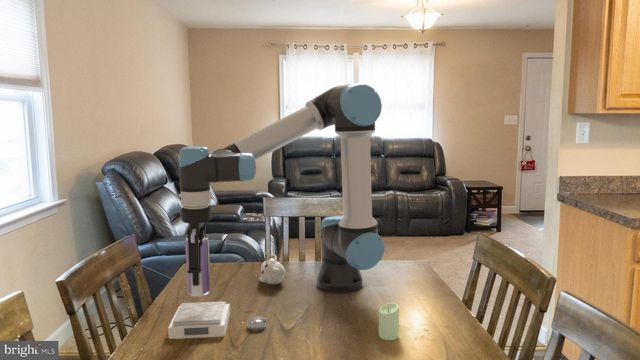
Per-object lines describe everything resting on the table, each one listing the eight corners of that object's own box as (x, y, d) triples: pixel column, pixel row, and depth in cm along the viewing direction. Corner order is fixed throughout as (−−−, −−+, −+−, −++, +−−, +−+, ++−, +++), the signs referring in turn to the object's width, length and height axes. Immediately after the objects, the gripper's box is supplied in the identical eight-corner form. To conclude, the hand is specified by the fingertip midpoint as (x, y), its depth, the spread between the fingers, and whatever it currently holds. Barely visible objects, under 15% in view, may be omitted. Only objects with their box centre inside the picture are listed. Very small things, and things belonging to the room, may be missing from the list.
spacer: (266, 322, 132) (266, 315, 131) (266, 331, 127) (265, 323, 126) (247, 323, 131) (247, 316, 131) (246, 332, 126) (246, 324, 126)
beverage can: (204, 297, 125) (202, 241, 123) (183, 295, 126) (181, 240, 124) (214, 289, 131) (212, 235, 129) (193, 287, 132) (191, 234, 130)
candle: (385, 342, 120) (385, 310, 119) (375, 333, 124) (375, 303, 123) (402, 338, 122) (402, 307, 121) (391, 330, 126) (392, 300, 125)
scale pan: (225, 304, 136) (225, 301, 135) (220, 323, 124) (220, 319, 124) (182, 306, 135) (182, 303, 134) (173, 325, 123) (172, 321, 123)
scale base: (230, 313, 137) (229, 303, 137) (224, 336, 123) (224, 325, 123) (179, 315, 136) (179, 305, 136) (168, 339, 122) (167, 328, 122)
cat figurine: (267, 248, 169) (271, 256, 154) (287, 259, 170) (293, 267, 156) (254, 272, 168) (256, 282, 154) (274, 283, 170) (278, 293, 155)
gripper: (187, 199, 134) (191, 279, 137) (173, 214, 115) (177, 306, 119) (215, 199, 135) (217, 278, 138) (205, 213, 116) (208, 305, 119)
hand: (199, 291), depth 128 cm, fingers closed on beverage can, 6 cm apart
